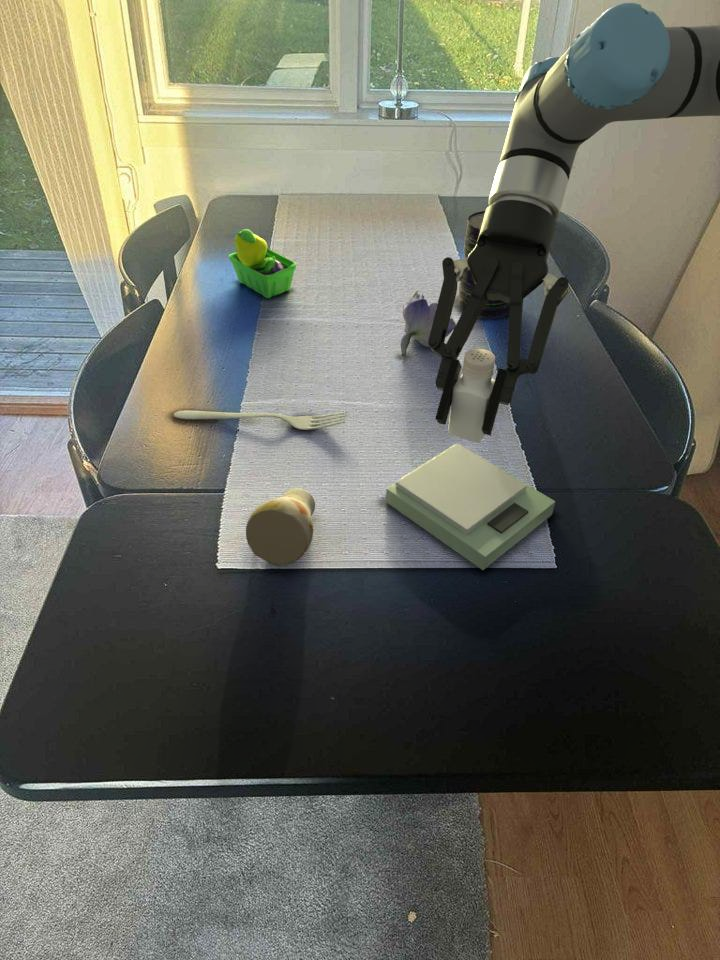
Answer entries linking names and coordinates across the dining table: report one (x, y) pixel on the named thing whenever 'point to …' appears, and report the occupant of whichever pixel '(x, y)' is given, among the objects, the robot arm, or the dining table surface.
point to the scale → (470, 504)
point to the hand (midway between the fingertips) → (463, 426)
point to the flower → (419, 321)
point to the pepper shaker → (472, 395)
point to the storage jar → (467, 283)
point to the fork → (296, 422)
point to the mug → (282, 527)
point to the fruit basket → (261, 265)
